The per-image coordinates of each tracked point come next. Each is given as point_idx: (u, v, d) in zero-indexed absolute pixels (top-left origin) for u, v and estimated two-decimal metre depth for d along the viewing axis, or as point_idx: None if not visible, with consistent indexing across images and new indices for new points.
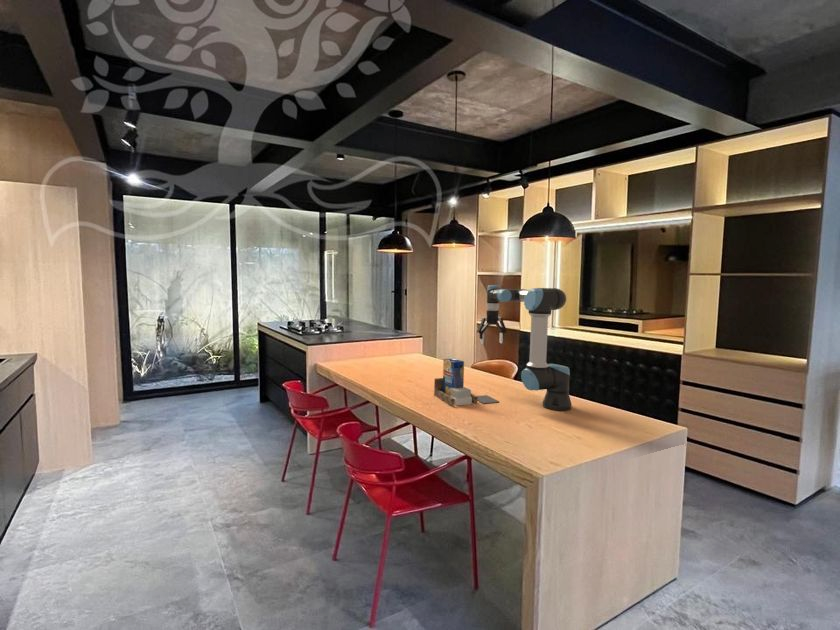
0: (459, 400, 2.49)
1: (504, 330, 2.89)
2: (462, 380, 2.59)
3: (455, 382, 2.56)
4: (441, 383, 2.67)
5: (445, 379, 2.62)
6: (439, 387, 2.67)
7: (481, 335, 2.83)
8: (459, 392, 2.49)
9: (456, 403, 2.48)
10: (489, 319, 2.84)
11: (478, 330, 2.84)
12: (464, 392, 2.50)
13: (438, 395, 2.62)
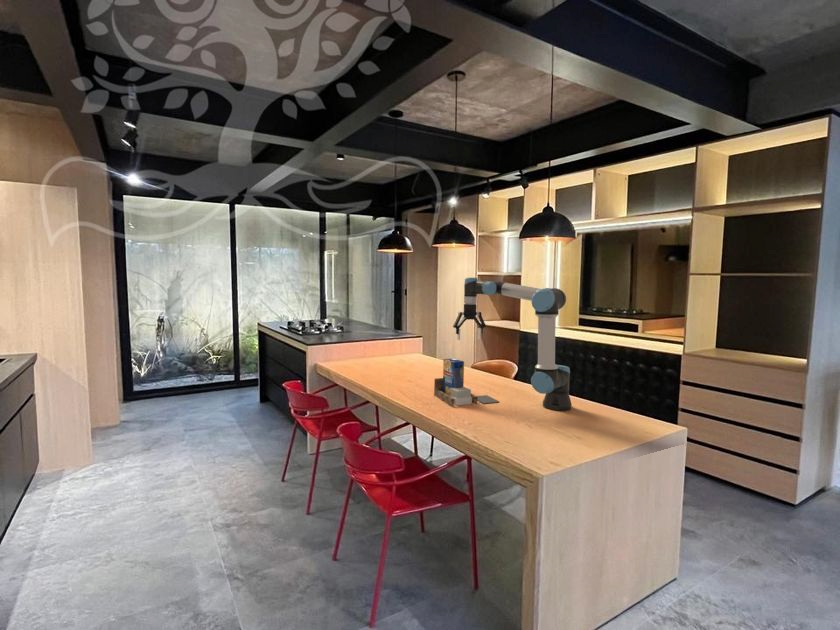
0: (459, 400, 2.49)
1: (483, 325, 2.72)
2: (462, 380, 2.59)
3: (455, 382, 2.56)
4: (441, 383, 2.67)
5: (445, 379, 2.62)
6: (439, 387, 2.67)
7: (457, 330, 2.66)
8: (459, 392, 2.48)
9: (456, 403, 2.48)
10: (466, 313, 2.67)
11: None
12: (464, 392, 2.50)
13: (438, 395, 2.62)
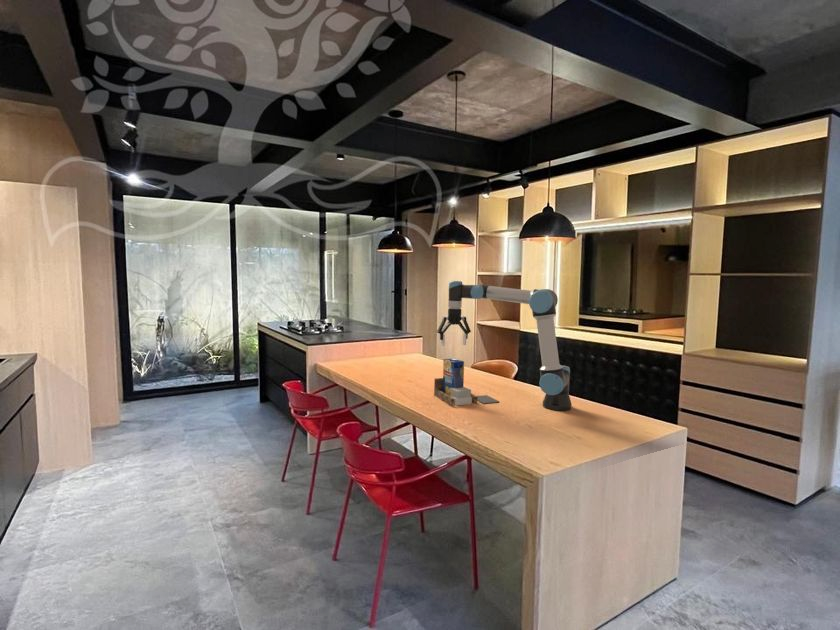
0: (459, 400, 2.49)
1: (468, 330, 2.62)
2: (462, 380, 2.59)
3: (455, 382, 2.56)
4: (441, 383, 2.67)
5: (445, 379, 2.62)
6: (439, 387, 2.67)
7: (442, 336, 2.56)
8: (459, 392, 2.48)
9: (456, 403, 2.48)
10: (451, 318, 2.57)
11: None
12: (464, 392, 2.50)
13: (438, 395, 2.62)
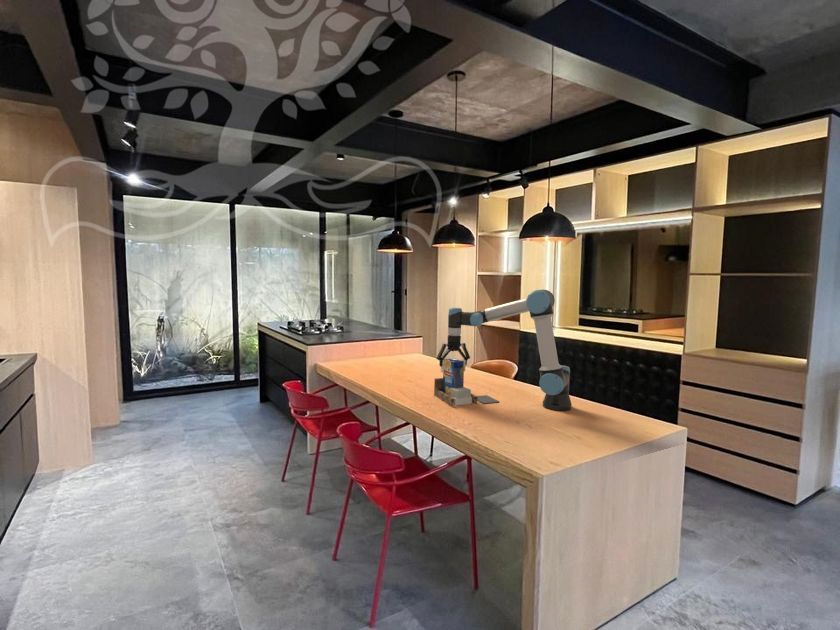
0: (459, 400, 2.49)
1: (467, 357, 2.63)
2: (462, 380, 2.59)
3: (455, 382, 2.56)
4: (441, 383, 2.67)
5: (445, 379, 2.62)
6: (439, 387, 2.67)
7: (441, 362, 2.58)
8: (459, 392, 2.48)
9: (456, 403, 2.48)
10: (450, 345, 2.58)
11: None
12: (464, 392, 2.50)
13: (438, 395, 2.62)
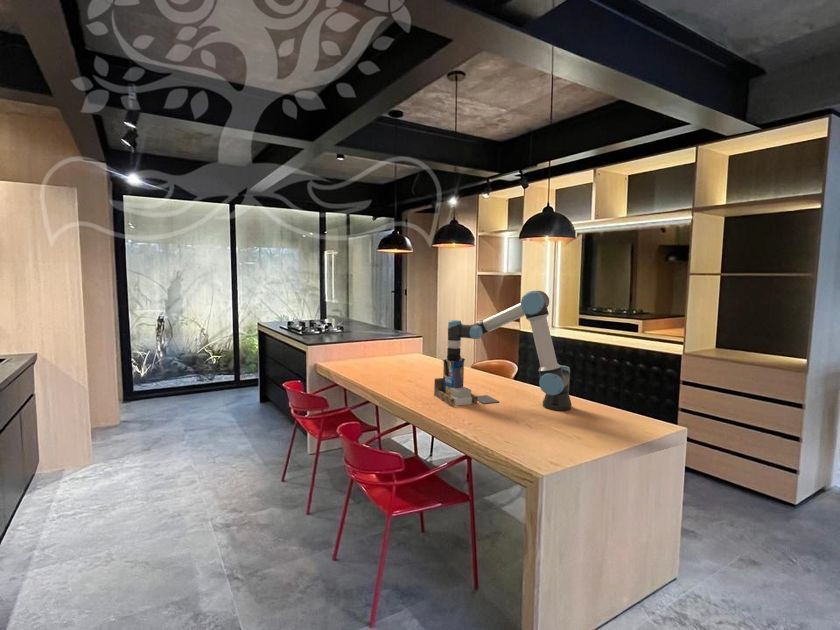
0: (459, 400, 2.49)
1: None
2: (462, 380, 2.59)
3: (455, 382, 2.56)
4: (441, 383, 2.67)
5: (445, 379, 2.63)
6: (439, 387, 2.67)
7: None
8: (460, 392, 2.49)
9: (456, 403, 2.48)
10: (450, 357, 2.59)
11: None
12: (465, 392, 2.50)
13: (438, 395, 2.62)
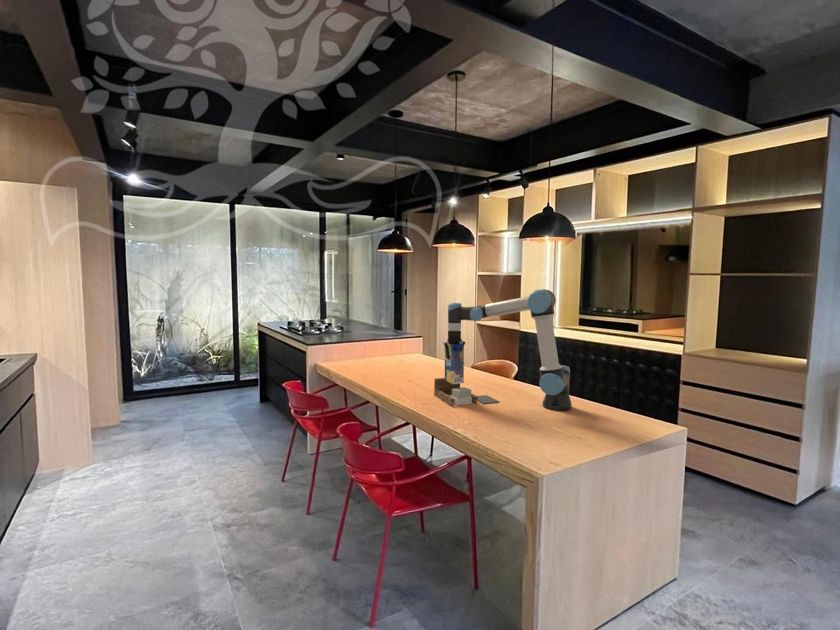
0: (459, 400, 2.49)
1: None
2: (462, 363, 2.57)
3: (454, 365, 2.55)
4: (441, 383, 2.67)
5: (446, 362, 2.62)
6: (439, 387, 2.67)
7: None
8: (460, 392, 2.48)
9: (456, 403, 2.48)
10: (450, 340, 2.58)
11: None
12: (465, 392, 2.50)
13: (438, 395, 2.62)
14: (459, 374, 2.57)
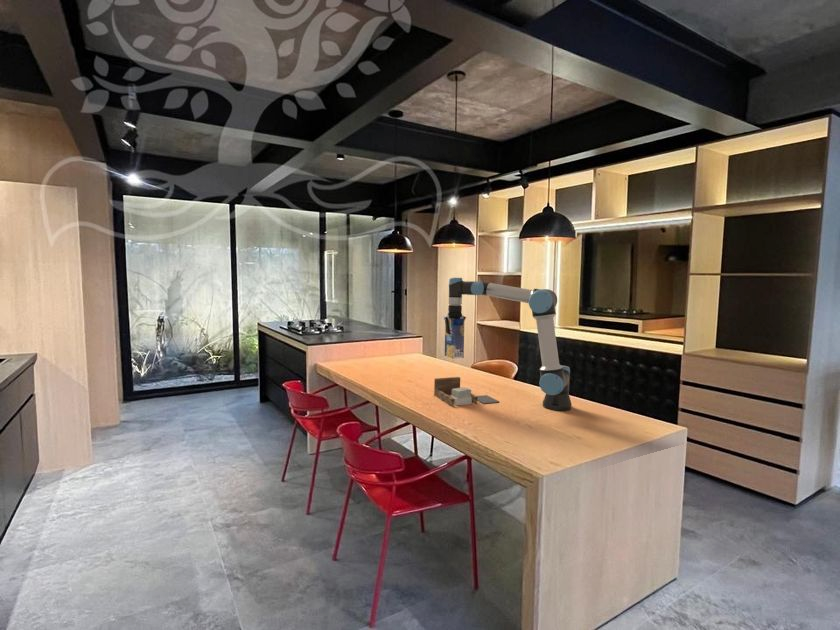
0: (459, 400, 2.49)
1: None
2: (462, 338, 2.56)
3: (454, 339, 2.54)
4: (441, 383, 2.67)
5: (446, 337, 2.61)
6: (439, 387, 2.67)
7: None
8: (460, 392, 2.48)
9: (456, 403, 2.48)
10: (451, 314, 2.56)
11: None
12: (465, 392, 2.50)
13: (438, 395, 2.62)
14: (459, 349, 2.56)
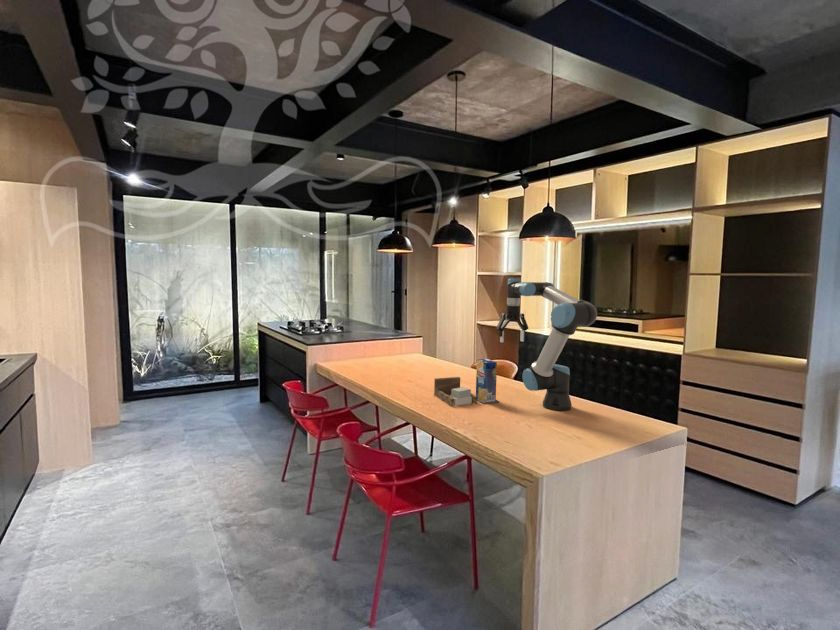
0: (459, 400, 2.49)
1: (525, 327, 2.66)
2: (495, 381, 2.55)
3: (487, 383, 2.53)
4: (441, 383, 2.67)
5: (478, 379, 2.60)
6: (439, 387, 2.67)
7: (501, 332, 2.60)
8: (460, 392, 2.48)
9: (456, 403, 2.48)
10: (510, 315, 2.60)
11: None
12: (465, 392, 2.50)
13: (438, 395, 2.62)
14: (492, 392, 2.55)
